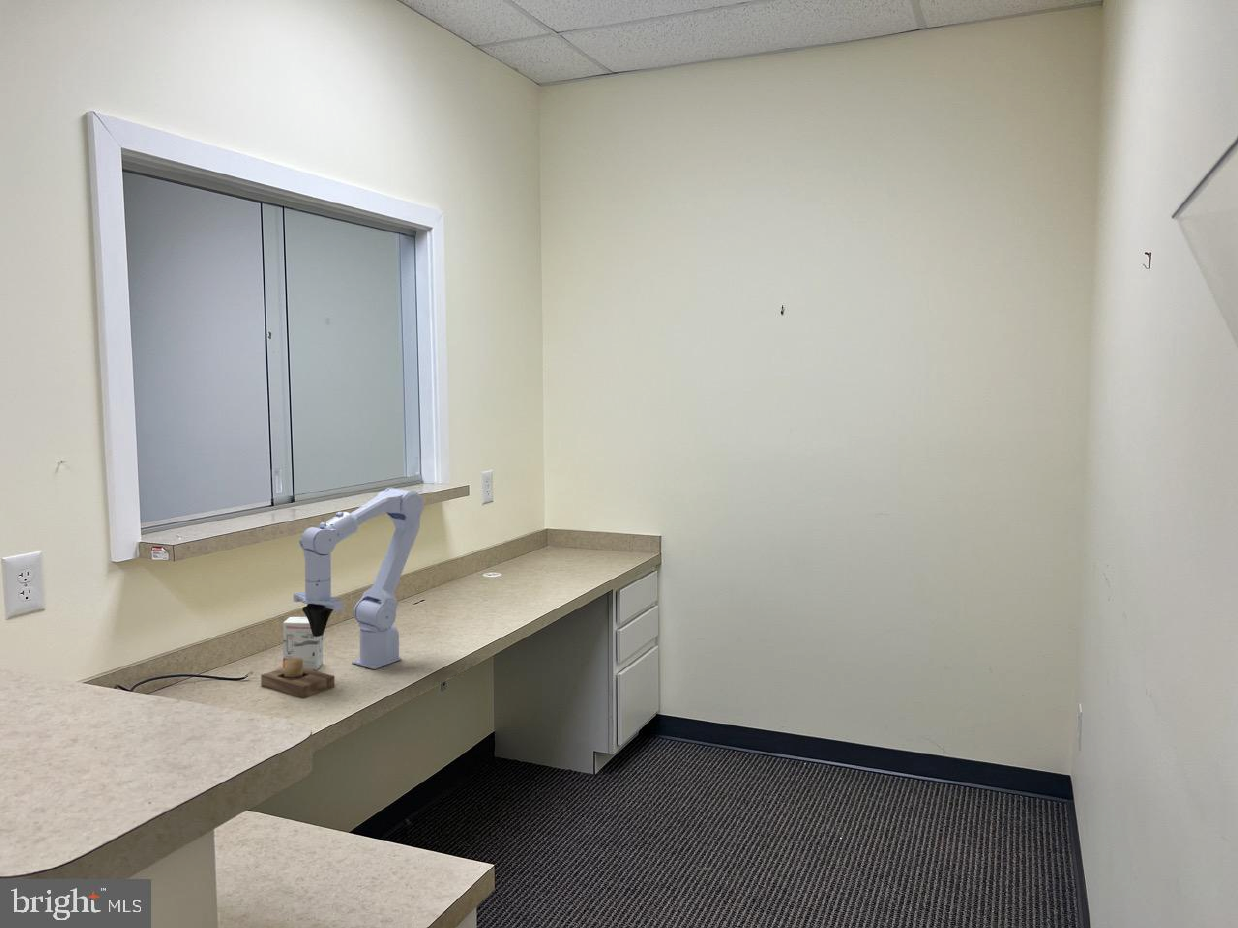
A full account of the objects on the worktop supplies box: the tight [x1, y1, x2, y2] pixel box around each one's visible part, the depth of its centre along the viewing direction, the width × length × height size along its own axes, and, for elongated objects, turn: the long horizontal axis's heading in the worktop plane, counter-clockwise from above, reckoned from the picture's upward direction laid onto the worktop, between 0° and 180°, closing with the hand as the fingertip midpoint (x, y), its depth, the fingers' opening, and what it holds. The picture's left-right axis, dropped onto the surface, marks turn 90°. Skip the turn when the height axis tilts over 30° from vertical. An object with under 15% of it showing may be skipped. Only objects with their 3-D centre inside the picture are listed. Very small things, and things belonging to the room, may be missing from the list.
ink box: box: [282, 616, 324, 671], centre depth 225 cm, size 9×5×12 cm, turn 91°
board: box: [260, 667, 336, 698], centre depth 212 cm, size 9×14×2 cm, turn 59°
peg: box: [284, 658, 303, 680], centre depth 212 cm, size 4×4×6 cm
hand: (318, 635), depth 216 cm, fingers closed
